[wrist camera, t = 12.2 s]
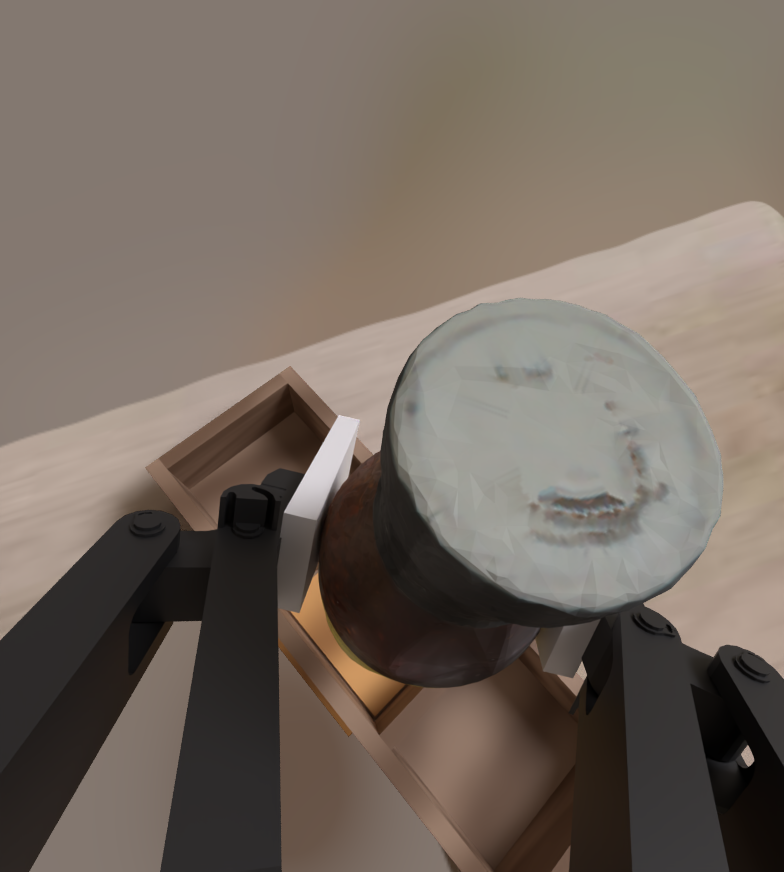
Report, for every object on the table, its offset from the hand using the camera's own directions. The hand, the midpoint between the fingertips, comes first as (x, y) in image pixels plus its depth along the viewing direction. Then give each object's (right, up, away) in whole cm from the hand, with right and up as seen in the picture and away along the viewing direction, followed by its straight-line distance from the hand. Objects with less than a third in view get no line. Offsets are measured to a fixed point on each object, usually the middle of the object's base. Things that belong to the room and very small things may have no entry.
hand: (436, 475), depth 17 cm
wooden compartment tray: (-3, -11, +19) cm, 22 cm away
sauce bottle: (-2, -6, +6) cm, 9 cm away
